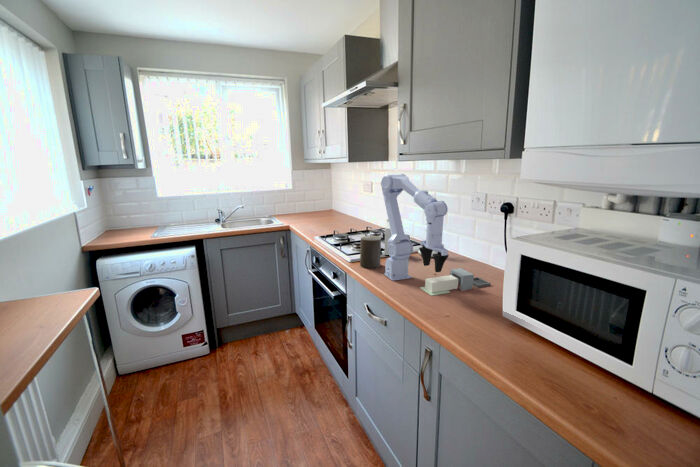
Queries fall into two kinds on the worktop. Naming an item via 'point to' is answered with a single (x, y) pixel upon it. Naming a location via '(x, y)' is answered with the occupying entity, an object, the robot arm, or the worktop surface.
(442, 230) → the robot arm
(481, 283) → the tray
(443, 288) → the long ivory beam
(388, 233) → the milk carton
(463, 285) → the tunnel
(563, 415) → the worktop surface
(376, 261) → the pillar candle
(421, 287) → the pad
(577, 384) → the worktop surface
